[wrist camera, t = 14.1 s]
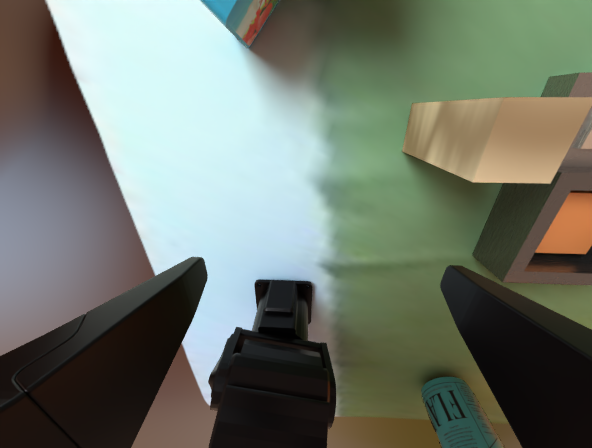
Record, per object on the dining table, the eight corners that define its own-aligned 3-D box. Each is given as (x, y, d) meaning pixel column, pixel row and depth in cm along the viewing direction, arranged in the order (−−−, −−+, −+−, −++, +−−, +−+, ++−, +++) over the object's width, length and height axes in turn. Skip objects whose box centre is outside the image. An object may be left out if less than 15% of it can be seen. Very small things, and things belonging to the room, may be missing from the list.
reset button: (567, 244, 21) (585, 254, 20) (506, 243, 21) (519, 252, 20) (605, 187, 18) (628, 193, 17) (534, 186, 19) (552, 192, 17)
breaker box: (569, 258, 22) (619, 286, 19) (472, 255, 23) (502, 282, 19) (692, 76, 15) (808, 66, 12) (549, 76, 16) (619, 67, 12)
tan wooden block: (445, 151, 18) (550, 183, 10) (402, 151, 19) (472, 182, 11) (459, 103, 17) (596, 97, 9) (412, 103, 17) (503, 97, 9)
